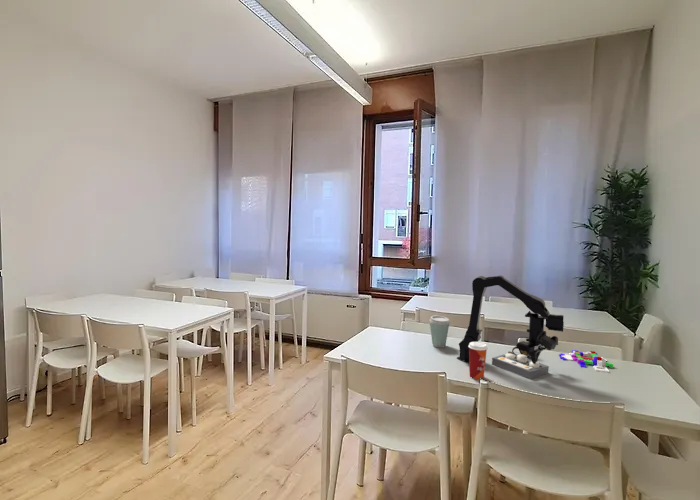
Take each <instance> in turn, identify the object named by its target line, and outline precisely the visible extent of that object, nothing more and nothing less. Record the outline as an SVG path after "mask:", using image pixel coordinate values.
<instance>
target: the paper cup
mask: <svg viewBox="0 0 700 500" xmlns="http://www.w3.org/2000/svg"><path fill="white" fill-rule="evenodd" d="M468 347H469V362H468V365H469V367H468V368H469V369H468V370H469V377H470V378H471V377H472V378H471V379H473V378H475V379H474V380H481V379H480V378H483V379H484V376H485V369H486V360H487V350H488V346H487V344H486V343H484V342H482V341H481V342H480V341H478V342H470V343H469V346H468Z"/></svg>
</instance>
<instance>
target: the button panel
mask: <svg viewBox="0 0 700 500" xmlns="http://www.w3.org/2000/svg"><path fill="white" fill-rule="evenodd" d="M510 354H512V353H510ZM515 354H516V353H515ZM515 354H514V355H515ZM517 355H518V354H517ZM517 355H515V359H512V361H515V362H517ZM500 357H504V358H505V354H502V355H498V356H494V357H492V358H491V365H493V366H496V367H498V368H500V369H503V370H506V371H508V372H511V373H514V374H517V376H518V375H519V376H521V377H524V378H527V379H529V380H531V379H535V378H537V377H540V376H543V375H546V374H549V368H550V366H549V365H547V364H543V363H541V362H538V361H537V363H539V364H540V365H539V368H533V367H532V369H529V370H526V369H523V368H520V367H517V366H515V365H512V364H509V363H507V362H504V361H501V360H498V359H497V358H500ZM507 359H508V358H507ZM509 360H511V359H509ZM529 362H532V360H531V359H529V358H527V363H525V364H523V365H526V366H529ZM518 363H519V362H518ZM521 364H522V363H521ZM529 367H531V366H529Z"/></svg>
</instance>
